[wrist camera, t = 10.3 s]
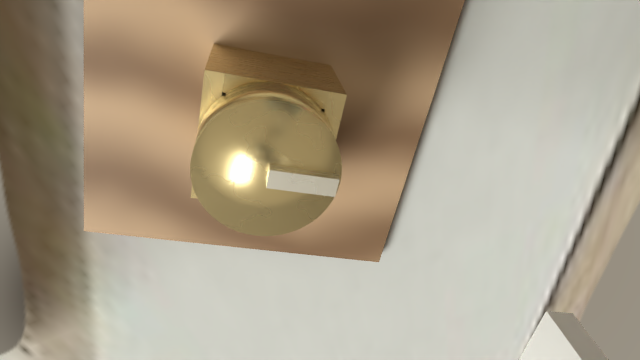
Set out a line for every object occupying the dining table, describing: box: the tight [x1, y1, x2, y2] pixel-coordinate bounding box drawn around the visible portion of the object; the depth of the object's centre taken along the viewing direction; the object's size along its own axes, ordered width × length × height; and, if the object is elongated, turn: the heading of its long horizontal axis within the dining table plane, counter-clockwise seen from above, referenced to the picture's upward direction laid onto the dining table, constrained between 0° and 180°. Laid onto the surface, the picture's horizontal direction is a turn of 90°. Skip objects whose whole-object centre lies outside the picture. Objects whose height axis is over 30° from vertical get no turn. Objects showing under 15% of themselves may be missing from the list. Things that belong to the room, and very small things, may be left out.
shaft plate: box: [84, 0, 465, 262], centre depth 24 cm, size 18×18×5 cm
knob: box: [190, 43, 347, 236], centre depth 22 cm, size 6×6×8 cm
